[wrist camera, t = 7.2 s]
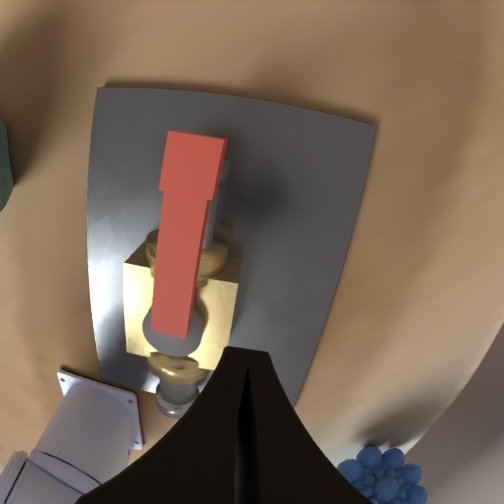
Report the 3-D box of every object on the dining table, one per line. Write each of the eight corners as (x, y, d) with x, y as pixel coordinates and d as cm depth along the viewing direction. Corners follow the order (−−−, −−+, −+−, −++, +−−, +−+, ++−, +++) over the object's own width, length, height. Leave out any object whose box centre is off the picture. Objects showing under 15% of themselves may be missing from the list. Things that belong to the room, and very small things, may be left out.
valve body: (290, 408, 24) (293, 450, 20) (104, 374, 24) (84, 410, 20) (373, 126, 16) (405, 127, 12) (102, 88, 16) (62, 81, 11)
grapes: (302, 465, 28) (309, 562, 17) (330, 431, 25) (348, 544, 14) (390, 466, 29) (410, 547, 18) (422, 434, 26) (454, 521, 15)
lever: (200, 351, 17) (195, 373, 16) (146, 338, 17) (136, 358, 15) (240, 141, 13) (237, 142, 11) (169, 128, 13) (156, 128, 11)
